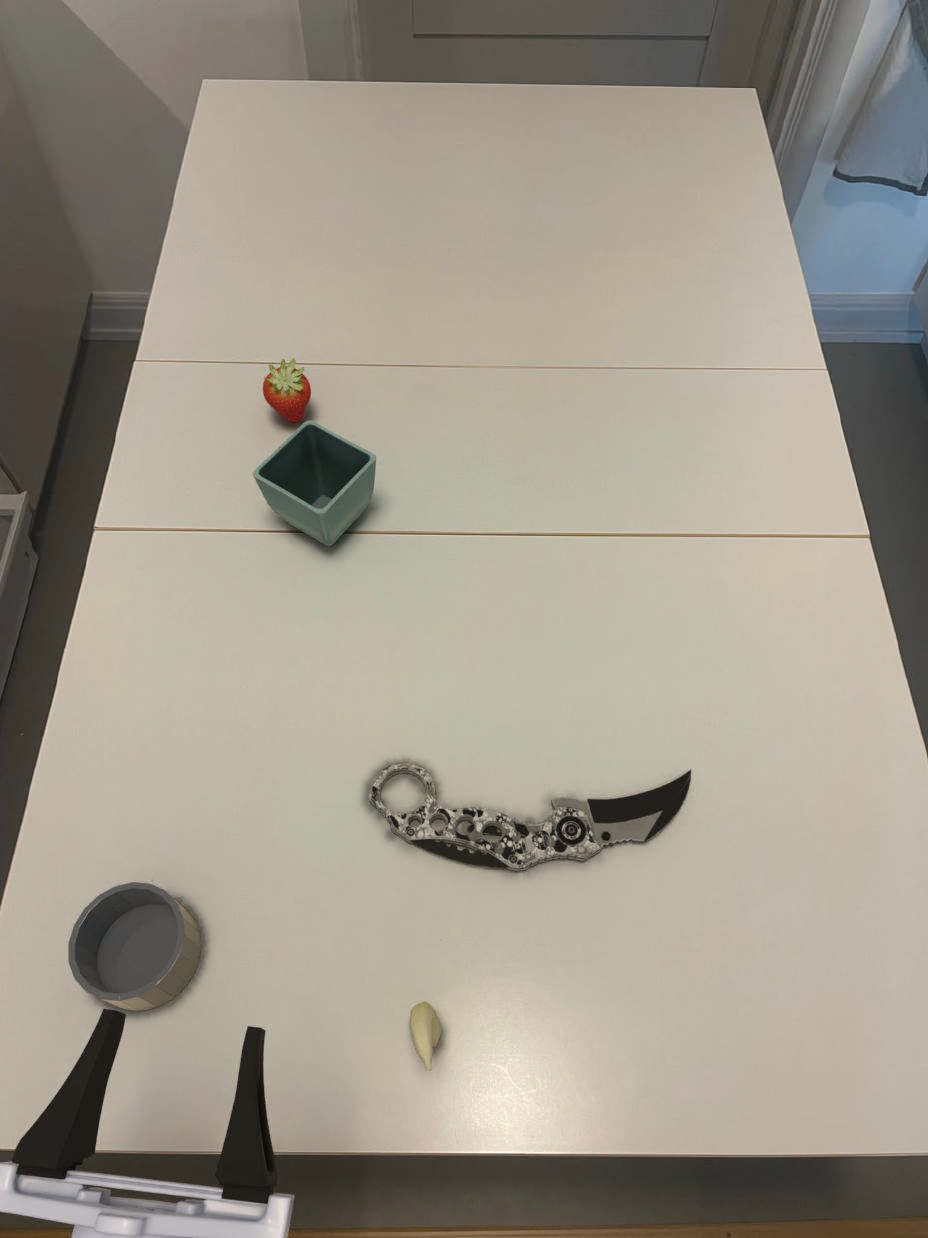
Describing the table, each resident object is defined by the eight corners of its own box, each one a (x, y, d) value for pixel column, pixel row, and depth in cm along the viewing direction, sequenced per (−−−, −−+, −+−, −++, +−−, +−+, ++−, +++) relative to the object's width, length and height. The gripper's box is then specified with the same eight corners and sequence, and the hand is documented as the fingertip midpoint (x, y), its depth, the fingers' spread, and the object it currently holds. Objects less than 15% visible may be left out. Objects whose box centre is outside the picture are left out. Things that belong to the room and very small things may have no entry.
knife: (693, 765, 78) (704, 877, 73) (689, 773, 80) (699, 883, 74) (374, 748, 79) (360, 857, 73) (375, 755, 80) (362, 864, 74)
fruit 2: (439, 991, 69) (416, 994, 69) (427, 1011, 61) (401, 1014, 61) (445, 1045, 68) (422, 1047, 68) (433, 1072, 60) (407, 1075, 60)
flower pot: (265, 529, 92) (249, 472, 85) (319, 475, 96) (308, 417, 88) (331, 569, 90) (321, 514, 82) (383, 512, 94) (378, 455, 86)
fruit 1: (277, 441, 99) (265, 388, 92) (264, 408, 101) (251, 354, 94) (321, 429, 100) (312, 375, 93) (307, 396, 102) (298, 342, 95)
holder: (186, 1015, 68) (167, 1005, 64) (79, 1005, 68) (52, 994, 64) (211, 904, 73) (195, 887, 68) (110, 895, 73) (87, 877, 68)
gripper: (253, 1381, 37) (313, 1029, 44) (-89, 1340, 37) (24, 995, 44) (274, 1343, 44) (324, 1040, 50) (-19, 1308, 44) (70, 1010, 50)
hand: (185, 1019), depth 48 cm, fingers open, 7 cm apart
